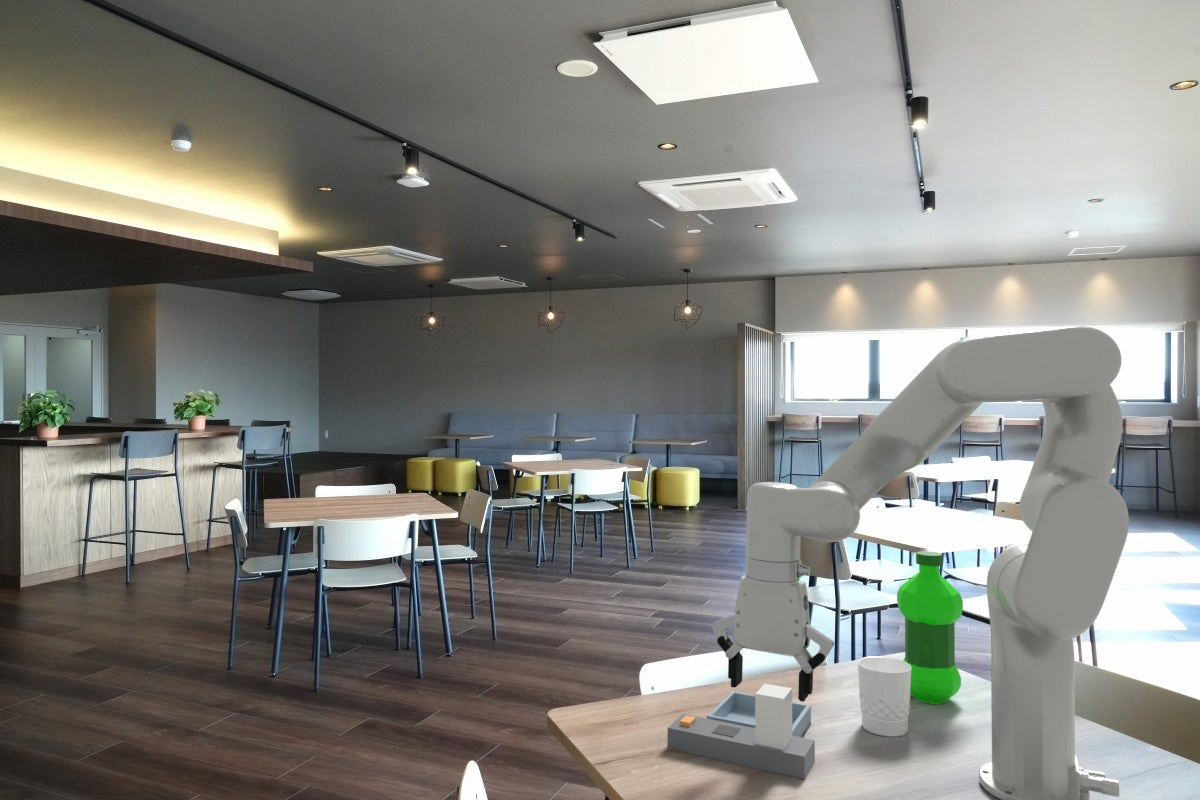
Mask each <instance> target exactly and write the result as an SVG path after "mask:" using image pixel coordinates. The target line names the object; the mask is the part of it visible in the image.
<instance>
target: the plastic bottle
mask: <svg viewBox="0 0 1200 800" xmlns="http://www.w3.org/2000/svg"><path fill="white" fill-rule="evenodd" d="M943 557H944V556H943V554H942V553H940V552H936V551H926V550H925V551H924V550H923V551H917V552H915V563H916V564H917V565H919V567H918V568H919V571H918V573H916V574H914V575H913V576H912V577H911V578H909V579H907V581H905V582H904V583H903V584H902V585H900V587H899V588H898V590H897V594H896V603H897V607H898V610H899V611H900V612H901V614H902V615H903V616H904V658H903V660H902V661H904V662H906V663H908V664H910V665H911V667H912V669H911V694H910V696H912V697H913V698H914V697H915V698H914V699H915V700H916V699H917V700H916V701H918V700H919V702H921V701H922V702H921V703H924V702H926V703H925V704H929V703H931V704H930V705H942V704H941V703H943V704H945V703H946V702H947V701H948V700H950V699H951V698H952V697H953V696H956V694H957V693H958V692H959V690H960V688H961V686H962V677H961V675H960V672H959V670H958V668H957V665H956V660H955V659H956V657H955V656H956V654H955V651H956V649H955V648H956V647H955V646H956V645H955V643H956V642H955V626H956V625H955V624H956V623H955V622H957V621H958V620H959V619H960V618H961V617H962V615H963V609H964V605H963V604H964V603H963V599H962V596H961V593H960V592H959V591H958V590H957V589H956V588H955V587H954V586H953V585H952V584H951V583H950V582H949V581H948V580H947V579H946V578H945V577H943V576H942V575H941V574H940V567H941V566H943V563H944V562H943V561H944V560H943ZM945 701H946V702H945ZM944 702H945V703H944Z"/></svg>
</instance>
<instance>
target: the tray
mask: <svg viewBox="0 0 1200 800" xmlns="http://www.w3.org/2000/svg"><path fill="white" fill-rule="evenodd" d="M706 719H711V720H716V721H721V722H726V723H731V724H736V725H741V726H746V727H751V728H755V694H751V693H750V694H749V693H745V692H740V691H734V690H732V691H730V692H729V693H728V694H727V696H725V697H724V698H723V699H722V700H721V701H720V702H719V703H718V704H717V705H716V706H715V707H714V708H713V709H712V710H711V711H710V712H709V713H708V714H707V715H706ZM811 725H812V705H811V704H807V703H801V702H797V701H792V736H797V737H802V738H804V736H805V734H806V733H807V731H808V729H809V728H810V727H811Z"/></svg>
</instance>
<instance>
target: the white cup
mask: <svg viewBox="0 0 1200 800" xmlns="http://www.w3.org/2000/svg"><path fill="white" fill-rule="evenodd" d="M857 669H858V672H857V673H858V688H859V690H858V691H859V692H858V693H859V701H860V702H859V703H860V709H861V723H862V724H861V725H862V728H863V729H865V731H867V732H869V733H872V734H874V735H876V736H881V737H893V738H894V737H901V736H904V735H906V734H907V733H908V732H909V714H910V704H911V669H912V667H911V665H910V664H908V663H906V662H904V661H903V660H901V659H898V658H894V657H887V656H875V655H874V656H866V657H865V656H864V657H862V658H859V659H858V660H857Z"/></svg>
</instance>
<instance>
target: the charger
mask: <svg viewBox="0 0 1200 800" xmlns="http://www.w3.org/2000/svg"><path fill="white" fill-rule="evenodd" d="M754 695H755V744H757V745H762V746H767V747H772V748H776V749H781V750H784V749H785V748H786V746H787V745H788V743H789V742H790V740H791V739H792V702H793V688H792V687H788V686H781V685H774V684H771V683H770V684H769V683H764V684H763V685H762V686H761V687H760V688H759V689H758V690H757V692H755V694H754Z"/></svg>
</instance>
